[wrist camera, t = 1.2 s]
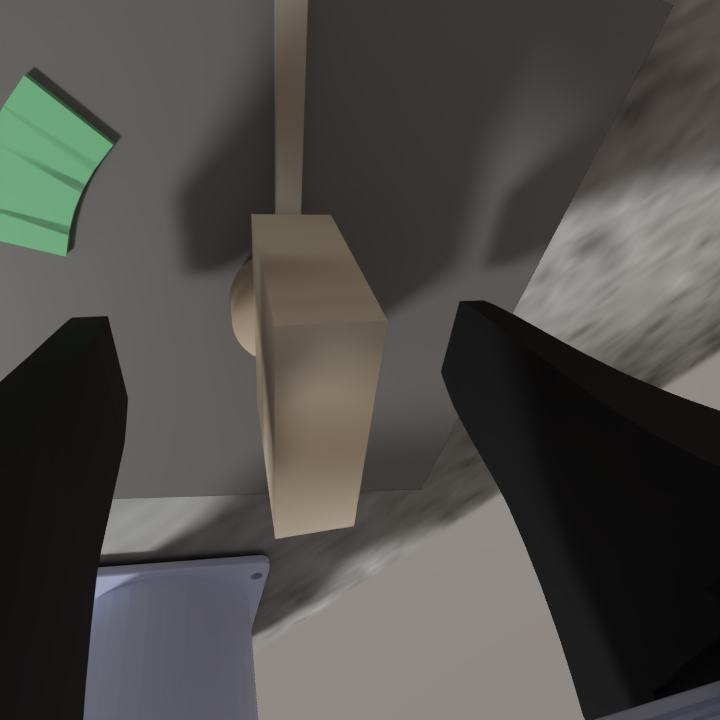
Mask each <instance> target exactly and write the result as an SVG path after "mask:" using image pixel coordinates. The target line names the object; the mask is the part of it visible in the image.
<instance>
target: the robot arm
mask: <svg viewBox="0 0 720 720" xmlns="http://www.w3.org/2000/svg"><path fill="white" fill-rule="evenodd" d="M441 374H442V377H443V380H444V383H445V386H446V388H447V391H448V394H449V396H450V399H451V401H452V404H453V406H454V409H455V410H456V412H457V414H458V416H459V418H460V420H461V422H462V423H463V425H464V427H465V429H466V431H467V432H468V434H469V436H470V438H471V440H472V441H473V443H474V445H475V447H476V448H477V450H478V452H479V454H480V455H481V457H482V459H483V461H484V462H485V464H486V466H487V468H488V469H489V471H490V473H491V475H492V476H493V478H494V480H495V482H496V483H497V485H498V487H499V489H500V491H501V493H502V495H503V497H504V499H505V501H506V503H507V505H508V507H509V509H510V511H511V514H512V516H513V518H514V521H515V523H516V525H517V527H518V530H519V532H520V535H521V537H522V539H523V541H524V544H525V546H526V549H527V551H528V554H529V557H530V559H531V561H532V564H533V567H534V569H535V572H536V574H537V577H538V579H539V582H540V584H541V587H542V590H543V593H544V596H545V598H546V601H547V604H548V607H549V610H550V612H551V615H552V618H553V621H554V624H555V626H556V629H557V632H558V635H559V638H560V641H561V644H562V647H563V651H564V654H565V657H566V660H567V663H568V666H569V670H570V673H571V676H572V679H573V682H574V685H575V689H576V693H577V696H578V699H579V703H580V707H581V710H582V714H583V716H584V718H585V720H720V411H718V410H716V409H713V408H710V407H707V406H704V405H702V404H699V403H696V402H693V401H690V400H687V399H684V398H682V397H679V396H677V395H674V394H672V393H669V392H667V391H664V390H662V389H660V388H657V387H655V386H652V385H650V384H648V383H645V382H643V381H641V380H638V379H636V378H634V377H631V376H629V375H627V374H625V373H623V372H620V371H618V370H616V369H614V368H612V367H610V366H608V365H606V364H604V363H602V362H600V361H598V360H596V359H594V358H592V357H590V356H588V355H586V354H584V353H582V352H581V351H579V350H577V349H575V348H573V347H571V346H569V345H567V344H566V343H564V342H562V341H560V340H558V339H557V338H555V337H553V336H551V335H549V334H548V333H546V332H544V331H542V330H540V329H539V328H537V327H535V326H533V325H532V324H530V323H528V322H526V321H524V320H523V319H521V318H519V317H517V316H515V315H513V314H512V313H510V312H508V311H506V310H504V309H502V308H500V307H498V306H496V305H494V304H492V303H489V302H487V301H485V300H477V301H459V305H458V309H457V312H456V316H455V320H454V324H453V328H452V331H451V335H450V339H449V343H448V347H447V350H446V354H445V358H444V362H443V365H442V369H441ZM127 408H128V396H127V392H126V387H125V383H124V379H123V375H122V371H121V367H120V363H119V359H118V355H117V351H116V347H115V343H114V339H113V335H112V331H111V327H110V323H109V318H108V316H95V317H72V318H70V319H69V320H68V321H67V322H66V323H64V324H63V325H62V326H61V327H60V328H59V329H58V330H57V331H55V332H54V333H53V334H52V335H51V336H50V337H49V338H48V339H47V340H46V341H45V342H44V343H43V344H41V345H40V346H39V347H38V348H37V349H36V350H35V351H34V352H33V353H32V354H31V355H29V356H28V357H27V358H26V359H25V360H24V361H23V362H22V363H20V364H19V365H18V366H17V367H16V368H15V369H14V370H13V371H12V372H10V373H9V374H8V375H7V376H6V377H5V378H4V379H3V380H1V381H0V720H258V713H257V701H256V686H255V673H254V660H253V647H252V634H251V629H252V626H253V622H254V619H255V616H256V612H257V609H258V606H259V602H260V599H261V596H262V592H263V589H264V586H265V582H266V579H267V576H268V572H269V569H270V564H269V558H268V557H266V556H263V555H254V556H241V557H228V558H215V559H202V560H189V561H175V562H162V563H149V564H136V565H123V566H110V567H98V566H99V560H100V554H101V549H102V544H103V540H104V535H105V531H106V526H107V522H108V517H109V513H110V508H111V504H112V499H113V495H114V490H115V486H116V482H117V477H118V472H119V468H120V463H121V459H122V454H123V449H124V444H125V434H126V423H127Z"/></svg>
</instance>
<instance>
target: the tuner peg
mask: <svg viewBox="0 0 720 720" xmlns="http://www.w3.org/2000/svg"><path fill="white" fill-rule="evenodd" d="M307 9H308V0H275V214H251V219H252V251H253V258H252V259H251V260H249V261H248V262H247V263H246V264H245V265H244V266H243V267H242V268H241V269H240V270H239V272H238V273H237V275H236V276H235V278H234V280H233V283H232V286H231V291H230V305H231V316H232V325H233V330H234V333H235V336H236V338H237V340H238V341H239V343H240V344H241V345H242V346H243V348H244V349H245V350H247V351H248V352H249V353H250V354H252V355H254V356H255V357H256V379H257V404H258V412H259V420H260V427H261V435H262V443H263V450H264V458H265V465H266V473H267V481H268V488H269V496H270V504H271V511H272V519H273V526H274V534H275V539H278V538H284V537H290V536H297V535H303V534H309V533H315V532H321V531H327V530H333V529H339V528H345V527H351V526H354V523H355V517H356V510H357V504H358V498H359V492H360V486H361V480H362V474H363V468H364V462H365V456H366V449H367V443H368V437H369V431H370V425H371V419H372V413H373V407H374V401H375V394H376V388H377V382H378V376H379V370H380V364H381V358H382V352H383V346H384V340H385V333H386V327H387V321H388V320H387V318H386V316H385V314H384V312H383V311H382V309H381V307H380V305H379V303H378V301H377V299H376V298H375V296H374V294H373V292H372V290H371V288H370V286H369V285H368V283H367V281H366V279H365V277H364V275H363V273H362V272H361V270H360V268H359V266H358V264H357V262H356V261H355V259H354V257H353V255H352V253H351V251H350V249H349V248H348V246H347V244H346V242H345V240H344V238H343V236H342V235H341V233H340V231H339V229H338V227H337V225H336V223H335V222H334V220H333V218H332V216H331V215H301V198H302V166H303V135H304V103H305V72H306V40H307Z"/></svg>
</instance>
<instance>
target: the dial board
mask: <svg viewBox="0 0 720 720" xmlns="http://www.w3.org/2000/svg"><path fill="white" fill-rule="evenodd" d="M672 7H673V5H670V4H668V3H666V2H664V1H662V0H308V9H307V40H306V72H305V103H304V135H303V166H302V198H301V215H331V216H332V218H333V220H334V222H335V223H336V225H337V227H338V229H339V231H340V233H341V235H342V236H343V238H344V240H345V242H346V244H347V246H348V248H349V249H350V251H351V253H352V255H353V257H354V259H355V261H356V262H357V264H358V266H359V268H360V270H361V272H362V273H363V275H364V277H365V279H366V281H367V283H368V285H369V286H370V288H371V290H372V292H373V294H374V296H375V298H376V299H377V301H378V303H379V305H380V307H381V309H382V311H383V312H384V314H385V316H386V318H387V320H388V321H387V327H386V333H385V340H384V346H383V352H382V358H381V364H380V370H379V376H378V382H377V388H376V394H375V401H374V407H373V413H372V419H371V425H370V431H369V437H368V443H367V449H366V456H365V462H364V468H363V474H362V480H361V486H360V491H385V490H417V489H421V488H422V486H423V484H424V483H425V481H426V479H427V477H428V475H429V473H430V471H431V469H432V467H433V465H434V463H435V461H436V459H437V458H438V456H439V454H440V452H441V450H442V448H443V446H444V444H445V442H446V440H447V438H448V436H449V435H450V433H451V431H452V429H453V427H454V425H455V423H456V421H457V419H458V417H459V416H458V414H457V412H456V410H455V409H454V406H453V404H452V401H451V399H450V396H449V394H448V391H447V388H446V386H445V383H444V380H443V377H442V374H441V369H442V365H443V362H444V358H445V354H446V350H447V347H448V343H449V339H450V335H451V331H452V328H453V324H454V320H455V316H456V312H457V309H458V305H459V301H477V300H485V301H487V302H489V303H492V304H494V305H496V306H498V307H500V308H502V309H504V310H506V311H508V312H510V313H512V314H513V312H514V310H515V308H516V306H517V304H518V302H519V300H520V298H521V296H522V295H523V293H524V291H525V289H526V287H527V285H528V283H529V281H530V279H531V277H532V275H533V273H534V272H535V270H536V268H537V266H538V264H539V262H540V260H541V258H542V256H543V254H544V252H545V250H546V249H547V247H548V245H549V243H550V241H551V239H552V237H553V235H554V233H555V231H556V229H557V227H558V225H559V224H560V222H561V220H562V218H563V216H564V214H565V212H566V210H567V208H568V206H569V204H570V202H571V201H572V199H573V197H574V195H575V193H576V191H577V189H578V187H579V185H580V183H581V181H582V179H583V178H584V176H585V174H586V172H587V170H588V168H589V166H590V164H591V162H592V160H593V158H594V156H595V155H596V153H597V151H598V149H599V147H600V145H601V143H602V141H603V139H604V137H605V135H606V133H607V132H608V130H609V128H610V126H611V124H612V122H613V120H614V118H615V116H616V114H617V112H618V110H619V108H620V107H621V105H622V103H623V101H624V99H625V97H626V95H627V93H628V91H629V89H630V87H631V85H632V84H633V82H634V80H635V78H636V76H637V74H638V72H639V70H640V68H641V66H642V64H643V62H644V61H645V59H646V57H647V55H648V53H649V51H650V49H651V47H652V45H653V43H654V41H655V39H656V38H657V36H658V34H659V32H660V30H661V28H662V26H663V24H664V22H665V20H666V18H667V16H668V15H669V13H670V11H671V9H672ZM251 214H275V0H0V381H1V380H3V379H4V378H5V377H6V376H7V375H8V374H9V373H10V372H12V371H13V370H14V369H15V368H16V367H17V366H18V365H19V364H20V363H22V362H23V361H24V360H25V359H26V358H27V357H28V356H29V355H31V354H32V353H33V352H34V351H35V350H36V349H37V348H38V347H39V346H40V345H41V344H43V343H44V342H45V341H46V340H47V339H48V338H49V337H50V336H51V335H52V334H53V333H54V332H55V331H57V330H58V329H59V328H60V327H61V326H62V325H63V324H64V323H66V322H67V321H68V320H69V319H70V318H72V317H95V316H108V318H109V323H110V327H111V331H112V335H113V339H114V343H115V347H116V351H117V355H118V359H119V363H120V367H121V371H122V375H123V379H124V383H125V387H126V392H127V396H128V408H127V423H126V434H125V444H124V449H123V454H122V459H121V463H120V468H119V472H118V477H117V482H116V486H115V490H114V495H113V499H128V498H160V497H192V496H224V495H257V494H269V488H268V481H267V473H266V465H265V458H264V450H263V443H262V435H261V427H260V420H259V412H258V404H257V379H256V357H255V356H254V355H252V354H250V353H249V352H248V351H247V350H245V349H244V348H243V346H242V345H241V344H240V343H239V341H238V340H237V338H236V336H235V333H234V330H233V325H232V316H231V305H230V291H231V286H232V283H233V280H234V278H235V276H236V275H237V273H238V272H239V270H240V269H241V268H242V267H243V266H244V265H245V264H246V263H247V262H248V261H249V260H251V259H252V258H253V251H252V219H251Z"/></svg>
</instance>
